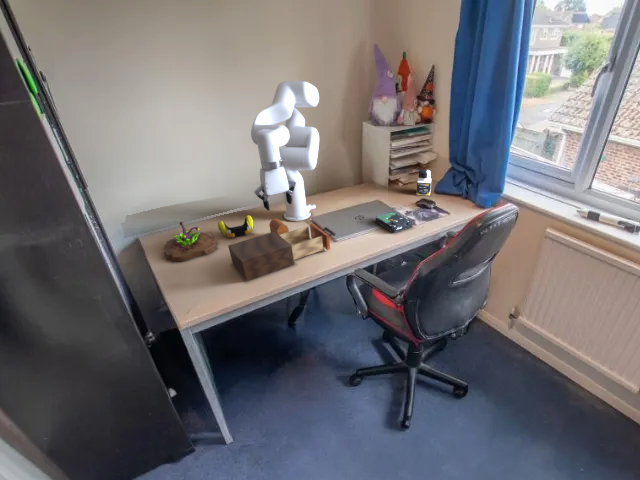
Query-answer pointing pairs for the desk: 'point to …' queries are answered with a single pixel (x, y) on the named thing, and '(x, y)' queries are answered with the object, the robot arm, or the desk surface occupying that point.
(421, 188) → the medicine bottle
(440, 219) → the desk surface
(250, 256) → the cabinet
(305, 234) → the drawer
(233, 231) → the gaming controller
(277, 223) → the brown rounded block
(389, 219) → the disk drive
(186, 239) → the plant
